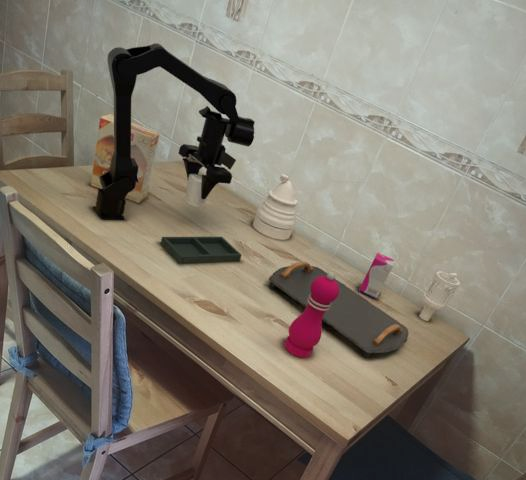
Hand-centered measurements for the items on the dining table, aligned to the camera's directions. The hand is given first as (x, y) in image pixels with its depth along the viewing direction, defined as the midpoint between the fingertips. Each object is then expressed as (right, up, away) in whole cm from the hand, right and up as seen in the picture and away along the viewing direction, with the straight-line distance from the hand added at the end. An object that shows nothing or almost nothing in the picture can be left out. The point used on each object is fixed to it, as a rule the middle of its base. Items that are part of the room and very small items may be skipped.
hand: (197, 193), depth 141 cm
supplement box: (+50, -27, +10) cm, 58 cm away
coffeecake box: (-24, +3, +9) cm, 26 cm away
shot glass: (-1, -2, +2) cm, 3 cm away
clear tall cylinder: (+66, -34, +9) cm, 75 cm away
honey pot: (+21, -5, +25) cm, 33 cm away
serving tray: (+38, -34, -8) cm, 51 cm away
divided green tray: (+2, -18, -6) cm, 19 cm away
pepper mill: (+26, -44, -28) cm, 58 cm away
